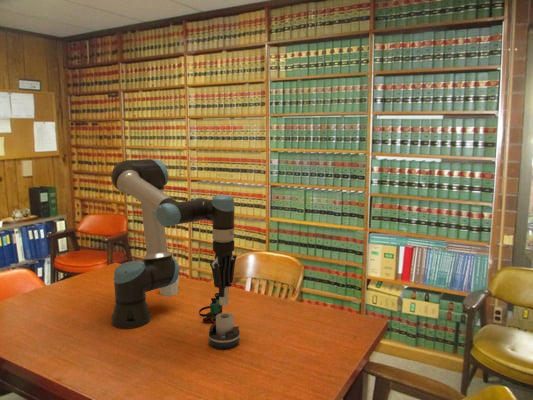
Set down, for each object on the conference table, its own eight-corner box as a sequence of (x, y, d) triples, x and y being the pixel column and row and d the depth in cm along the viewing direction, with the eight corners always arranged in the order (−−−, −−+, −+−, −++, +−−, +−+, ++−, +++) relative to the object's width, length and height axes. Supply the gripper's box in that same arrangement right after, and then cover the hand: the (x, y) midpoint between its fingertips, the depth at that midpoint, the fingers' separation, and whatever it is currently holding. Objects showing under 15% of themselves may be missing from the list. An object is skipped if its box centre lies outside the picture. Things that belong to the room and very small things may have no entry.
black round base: (202, 344, 151) (202, 330, 150) (220, 332, 161) (220, 319, 160) (228, 352, 146) (228, 337, 145) (245, 339, 155) (245, 325, 154)
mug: (171, 297, 197) (171, 276, 195) (156, 294, 200) (155, 274, 198) (185, 288, 208) (185, 269, 206) (170, 286, 211) (170, 267, 209)
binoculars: (201, 292, 176) (224, 291, 174) (204, 316, 178) (226, 316, 175) (193, 299, 168) (217, 299, 166) (196, 325, 169) (220, 325, 167)
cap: (212, 333, 151) (212, 317, 150) (222, 326, 157) (222, 310, 156) (227, 337, 148) (227, 321, 147) (237, 330, 154) (237, 314, 153)
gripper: (220, 245, 140) (221, 313, 144) (243, 237, 152) (243, 300, 155) (202, 242, 144) (203, 308, 147) (225, 234, 155) (226, 296, 159)
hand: (224, 304), depth 151 cm, fingers closed
